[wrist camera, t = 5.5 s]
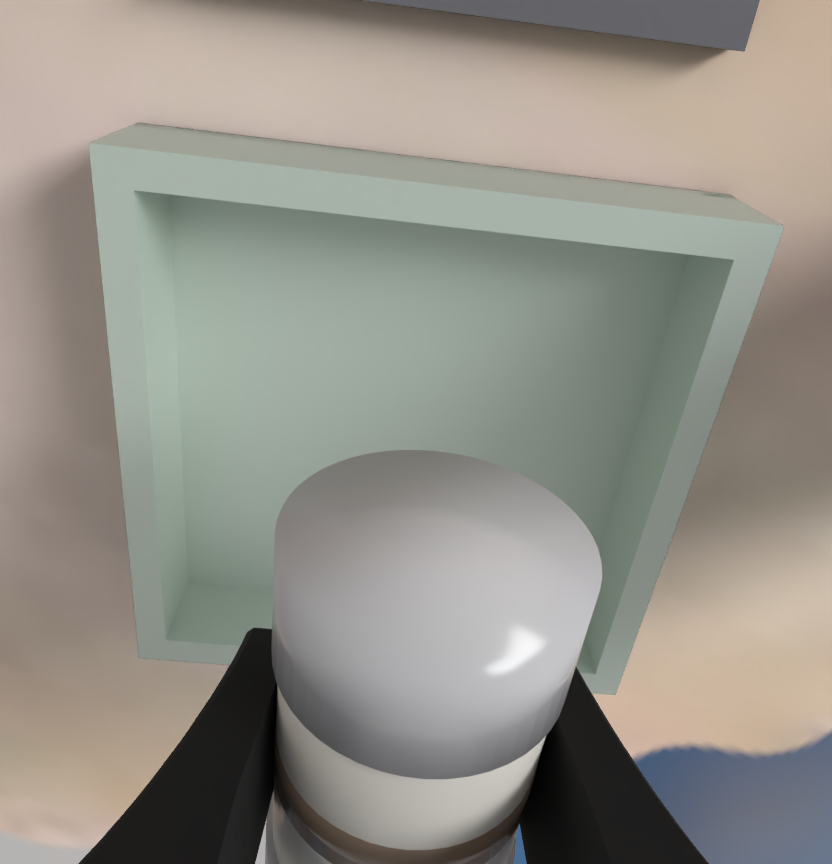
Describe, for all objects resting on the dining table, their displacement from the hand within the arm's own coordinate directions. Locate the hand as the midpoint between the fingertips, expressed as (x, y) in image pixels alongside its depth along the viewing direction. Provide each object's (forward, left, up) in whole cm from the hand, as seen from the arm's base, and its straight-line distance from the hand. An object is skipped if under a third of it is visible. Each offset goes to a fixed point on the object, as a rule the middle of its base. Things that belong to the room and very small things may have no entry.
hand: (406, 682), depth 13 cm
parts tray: (0, 0, -9) cm, 9 cm away
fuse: (0, 0, -1) cm, 1 cm away
